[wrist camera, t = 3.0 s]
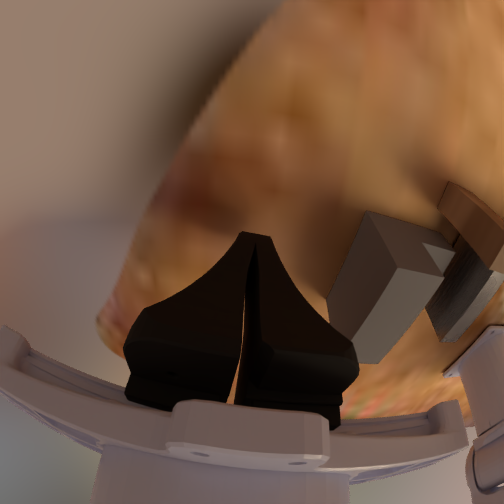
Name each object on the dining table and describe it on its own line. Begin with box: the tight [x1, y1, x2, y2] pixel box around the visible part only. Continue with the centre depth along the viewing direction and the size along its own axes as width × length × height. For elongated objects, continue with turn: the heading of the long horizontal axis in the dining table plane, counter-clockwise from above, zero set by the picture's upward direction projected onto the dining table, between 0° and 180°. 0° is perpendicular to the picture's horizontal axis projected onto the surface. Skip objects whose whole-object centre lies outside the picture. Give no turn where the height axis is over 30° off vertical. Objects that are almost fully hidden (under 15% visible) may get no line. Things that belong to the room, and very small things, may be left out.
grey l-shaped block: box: [425, 234, 504, 342], centre depth 11 cm, size 8×7×4 cm
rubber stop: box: [326, 211, 456, 364], centre depth 12 cm, size 5×6×4 cm
